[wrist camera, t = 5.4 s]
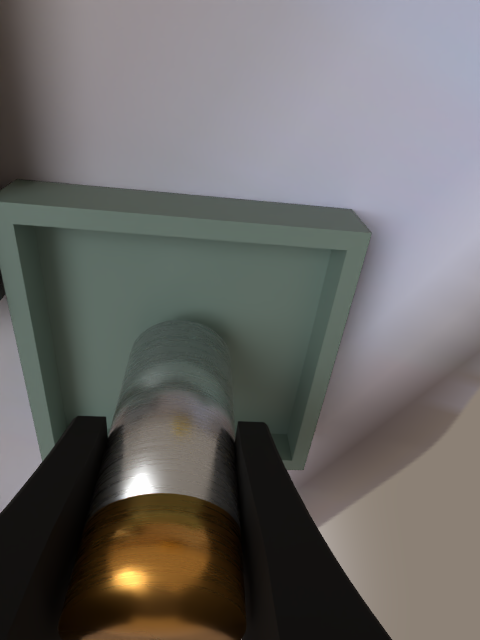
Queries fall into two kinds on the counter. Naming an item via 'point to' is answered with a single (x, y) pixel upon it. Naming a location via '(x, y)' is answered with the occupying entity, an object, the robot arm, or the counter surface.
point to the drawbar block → (1, 287)
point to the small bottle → (164, 501)
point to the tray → (176, 296)
